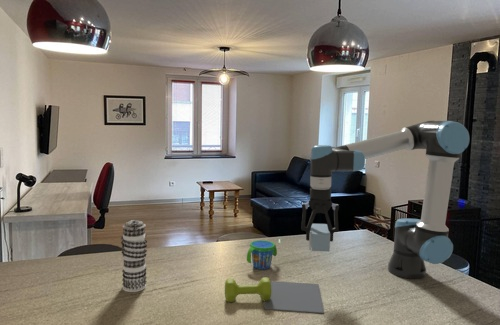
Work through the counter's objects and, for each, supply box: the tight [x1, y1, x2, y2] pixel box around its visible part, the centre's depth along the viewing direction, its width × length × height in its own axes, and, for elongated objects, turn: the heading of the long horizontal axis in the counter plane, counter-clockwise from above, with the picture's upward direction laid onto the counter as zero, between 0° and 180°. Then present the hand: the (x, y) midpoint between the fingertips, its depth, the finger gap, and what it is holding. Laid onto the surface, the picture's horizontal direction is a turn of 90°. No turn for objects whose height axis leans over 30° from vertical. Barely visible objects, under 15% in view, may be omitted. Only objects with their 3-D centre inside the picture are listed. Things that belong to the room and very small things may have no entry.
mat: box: [263, 280, 325, 315], centre depth 139 cm, size 20×22×1 cm
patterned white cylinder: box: [120, 219, 148, 293], centre depth 141 cm, size 9×9×25 cm
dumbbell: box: [224, 276, 272, 303], centre depth 135 cm, size 16×8×7 cm, turn 93°
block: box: [310, 223, 330, 253], centre depth 140 cm, size 6×6×14 cm
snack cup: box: [246, 239, 278, 270], centre depth 165 cm, size 16×10×10 cm
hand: (319, 249), depth 142 cm, fingers closed on block, 6 cm apart
